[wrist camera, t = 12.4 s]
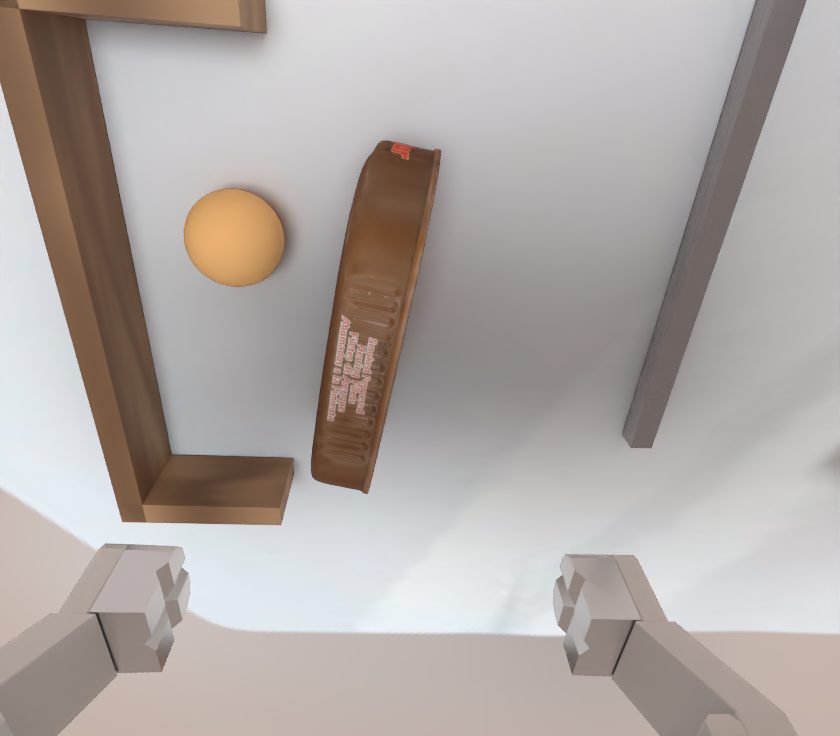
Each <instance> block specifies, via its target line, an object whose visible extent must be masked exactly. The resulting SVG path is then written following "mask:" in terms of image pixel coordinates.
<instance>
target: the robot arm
mask: <svg viewBox="0 0 840 736" xmlns="http://www.w3.org/2000/svg"><path fill="white" fill-rule="evenodd" d="M184 560H185V555H184V551H183V548H182V547H177V546H156V545H135V544H105V545H103V546H102V547H101V548H100V549H99V550H98V551H97V552H96V554H95V556H94V557H93V559H92V560H91V562H90V564H89V565H88V567H87V568H86V570H85V571H84V573H83V575H82V576H81V578H80V579H79V581H78V583H77V584H76V586H75V587H74V589H73V591H72V592H71V594H70V595H69V597H68V599H67V600H66V602H65V603H64V605H63V607H62V608H61V610H60V611H59V613H50V614H48V615H47V616H46V617H44V618H43V619H41V620H40V621H39V622H37V623H36V624H34V625H33V626H31V627H30V628H28V629H27V630H25V631H24V632H22V633H21V634H20V635H18V636H17V637H15V638H14V639H12V640H11V641H9V642H8V643H7V644H5V645H4V646H2V647H1V648H0V736H57V735H58V734H59V733H60V732H61V731H62V730H63V729H64V728H65V727H66V726H67V725H68V724H69V723H70V722H71V721H72V720H73V719H74V718H75V717H76V716H77V715H78V714H79V713H80V712H81V711H82V710H83V709H84V708H85V707H86V706H87V705H88V704H89V703H90V702H91V701H92V700H93V699H94V698H95V697H96V696H97V695H98V694H99V693H100V692H101V691H102V690H103V689H104V688H105V687H106V686H107V685H108V684H109V683H110V682H111V681H112V680H113V679H114V678H115V677H116V676H117V673H135V672H136V673H137V672H162V670H163V667H164V665H165V662H166V660H167V657H168V655H169V652H170V650H171V647H172V645H173V642H174V637H173V633H172V628H173V627H174V626H176V625H177V624H178V623H179V622H180V621H182V619H183V617H184V614H185V611H186V609H187V605H188V600H189V595H190V579H189V573H188V572H186V571H185V570H184V569H183V568H182V565H183V563H184ZM560 568H561V571H562V574H563V575H562V576H560V577H559V578H558V579H557V580H556V582H555V586H554V590H553V605H554V612H555V616H556V620H557V624H558V626H559V627H560V628H561V629H562V630H563V631H564V632H565V633H566V638H565V641H564V644H563V645H564V649H565V652H566V656H567V659H568V662H569V666H570V669H571V673H572V675H584V676H585V675H586V676H612V679H613V681H614V682H615V683H616V684H617V685H618V687H619V688H620V689H621V690H622V691H623V692H624V694H625V695H626V696H627V697H628V698H629V700H630V701H631V702H632V703H633V704H634V705H635V707H636V708H637V709H638V710H639V711H640V713H641V714H642V715H643V716H644V717H645V718H646V720H647V721H648V722H649V723H650V724H651V726H652V727H653V728H654V729H655V730H656V731H657V733H658V734H659V735H660V736H798V734H797V733H796V731H795V729H794V728H793V726H792V724H791V723H790V721H789V719H788V717H787V716H786V714H785V713H784V712H783V711H782V710H781V709H779V708H778V707H777V706H776V705H775V704H773V703H772V702H771V701H770V700H769V699H767V698H766V697H765V696H764V695H762V694H761V693H760V692H759V691H757V689H755V688H754V687H753V686H752V685H751V684H749V683H748V682H747V681H746V680H745V679H743V678H742V677H741V676H740V675H739V674H737V673H736V672H735V671H734V670H732V669H731V668H730V667H729V666H728V665H726V664H725V663H724V662H723V661H722V660H720V659H719V658H718V657H717V656H716V655H714V654H713V653H712V652H711V651H710V650H708V649H707V648H706V647H705V646H704V645H702V644H701V643H700V642H699V641H697V640H696V639H695V638H694V637H693V636H691V635H690V634H689V633H688V632H687V631H686V630H684V629H683V628H682V627H681V626H680V625H678V624H677V623H676V622H671V621H668V620H667V618H666V616H665V614H664V612H663V610H662V608H661V606H660V604H659V602H658V600H657V598H656V596H655V594H654V592H653V590H652V588H651V586H650V584H649V582H648V580H647V578H646V576H645V573H644V571H643V569H642V567H641V565H640V563H639V561H638V559H637V558H636V557H635V556H633V555H601V554H565V555H564V557H563V558H562V561H561V564H560Z"/></svg>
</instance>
